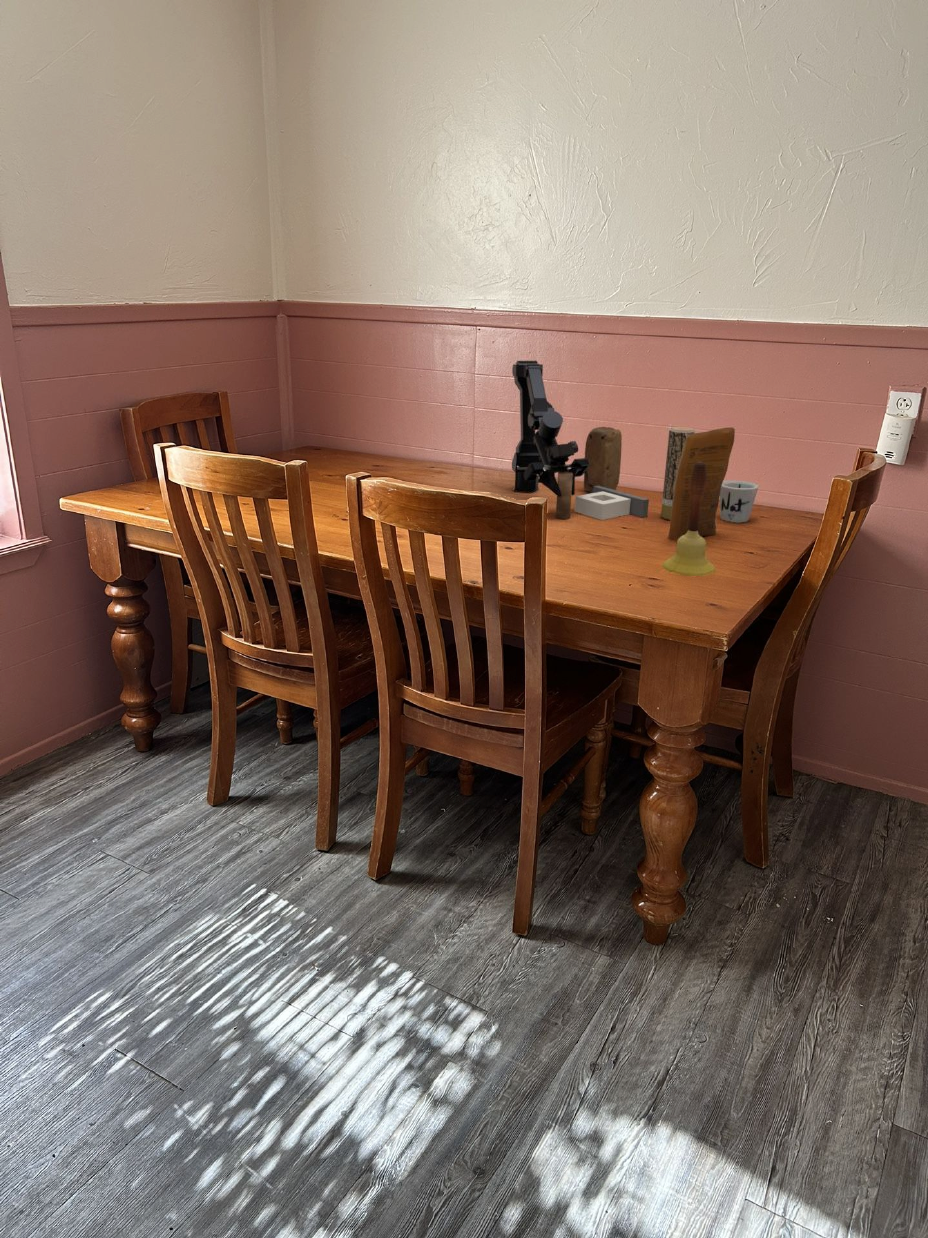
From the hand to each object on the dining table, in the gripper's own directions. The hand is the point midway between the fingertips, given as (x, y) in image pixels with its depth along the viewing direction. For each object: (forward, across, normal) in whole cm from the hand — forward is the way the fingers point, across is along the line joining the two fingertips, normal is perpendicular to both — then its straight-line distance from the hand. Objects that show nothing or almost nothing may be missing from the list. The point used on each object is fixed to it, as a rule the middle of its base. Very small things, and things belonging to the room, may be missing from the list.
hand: (566, 495), depth 243 cm
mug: (+17, +46, -8) cm, 50 cm away
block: (-11, +26, +21) cm, 35 cm away
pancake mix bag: (+24, +23, -15) cm, 36 cm away
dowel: (+4, 0, +6) cm, 7 cm away
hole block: (+4, +13, +6) cm, 15 cm away
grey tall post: (+13, +29, -3) cm, 31 cm away
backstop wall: (+3, +20, +7) cm, 21 cm away
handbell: (+39, +4, -30) cm, 49 cm away
